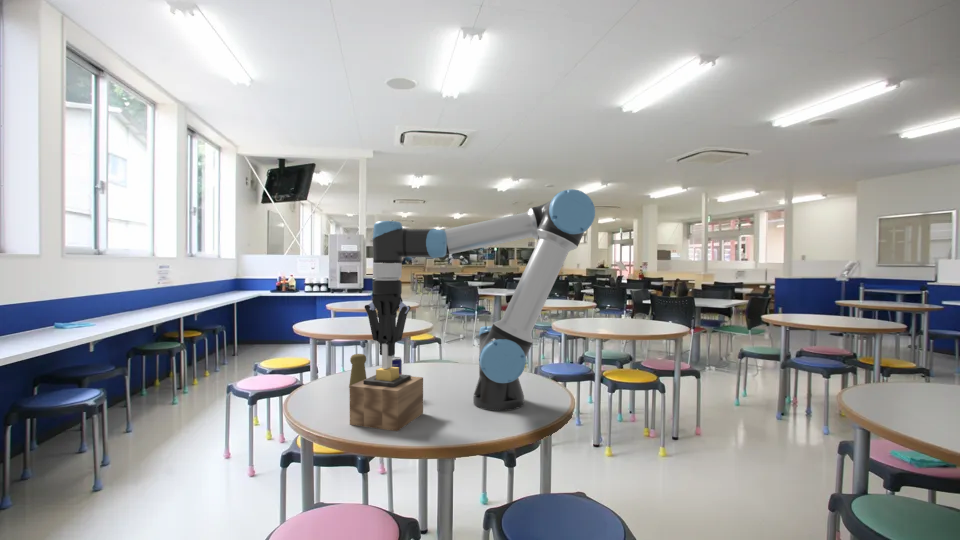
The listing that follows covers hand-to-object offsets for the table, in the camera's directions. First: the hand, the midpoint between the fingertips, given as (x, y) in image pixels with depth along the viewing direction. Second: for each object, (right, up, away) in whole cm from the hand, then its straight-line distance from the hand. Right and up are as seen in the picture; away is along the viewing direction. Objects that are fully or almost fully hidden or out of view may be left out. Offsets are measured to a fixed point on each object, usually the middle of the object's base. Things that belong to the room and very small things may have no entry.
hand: (387, 367), depth 118 cm
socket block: (0, -14, 0) cm, 14 cm away
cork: (-16, -14, +31) cm, 38 cm away
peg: (0, -9, 0) cm, 9 cm away
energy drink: (-2, -14, +20) cm, 25 cm away
